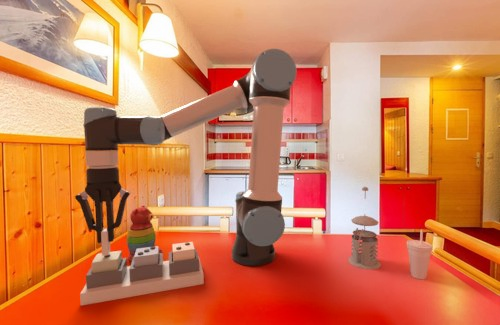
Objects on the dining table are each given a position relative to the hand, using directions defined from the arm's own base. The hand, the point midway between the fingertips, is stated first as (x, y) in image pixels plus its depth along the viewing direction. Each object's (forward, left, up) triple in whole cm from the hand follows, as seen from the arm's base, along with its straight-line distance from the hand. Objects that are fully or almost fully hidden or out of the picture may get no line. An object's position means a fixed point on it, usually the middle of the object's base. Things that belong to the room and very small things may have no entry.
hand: (106, 253), depth 69 cm
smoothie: (-85, +23, -10) cm, 89 cm away
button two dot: (-20, 0, -5) cm, 21 cm away
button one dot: (0, 0, -5) cm, 5 cm away
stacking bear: (-7, -19, -10) cm, 23 cm away
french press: (-76, +11, -10) cm, 78 cm away
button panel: (-10, 0, -10) cm, 14 cm away
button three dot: (-10, 0, -5) cm, 11 cm away
